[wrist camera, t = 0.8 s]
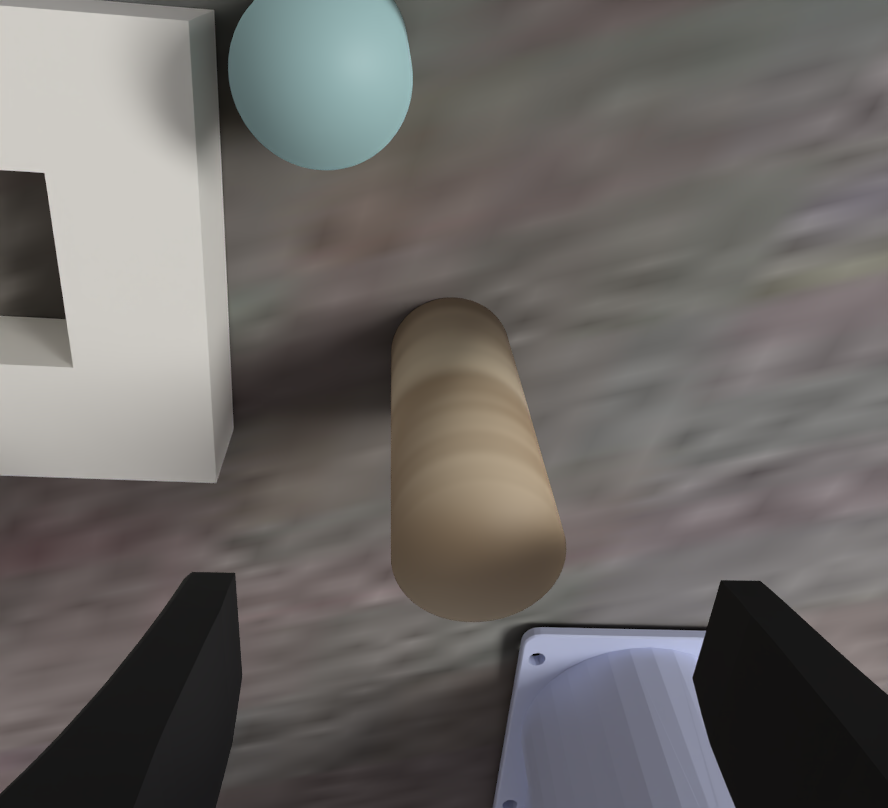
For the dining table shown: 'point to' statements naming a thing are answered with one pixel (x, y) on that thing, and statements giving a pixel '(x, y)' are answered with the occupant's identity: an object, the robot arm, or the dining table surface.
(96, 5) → the collar block
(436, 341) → the long beech pin
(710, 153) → the dining table surface
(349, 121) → the short teal pin
